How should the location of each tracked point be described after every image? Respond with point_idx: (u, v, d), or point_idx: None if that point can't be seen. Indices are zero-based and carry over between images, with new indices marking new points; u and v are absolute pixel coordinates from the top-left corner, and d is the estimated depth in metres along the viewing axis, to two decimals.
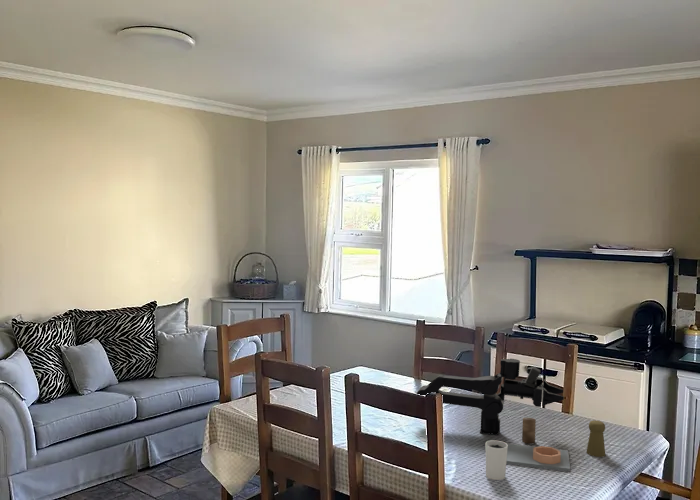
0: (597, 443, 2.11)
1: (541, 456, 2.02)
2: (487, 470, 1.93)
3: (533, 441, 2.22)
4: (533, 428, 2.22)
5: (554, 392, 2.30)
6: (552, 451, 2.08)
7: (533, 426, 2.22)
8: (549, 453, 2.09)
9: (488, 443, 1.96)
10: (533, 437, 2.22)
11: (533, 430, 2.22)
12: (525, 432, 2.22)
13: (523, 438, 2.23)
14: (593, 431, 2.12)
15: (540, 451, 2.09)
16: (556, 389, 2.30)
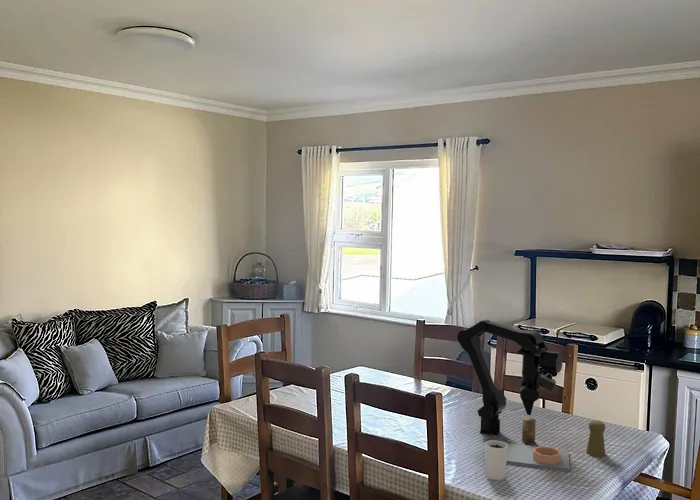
0: (597, 443, 2.11)
1: (541, 456, 2.02)
2: (487, 470, 1.93)
3: (533, 441, 2.22)
4: (533, 428, 2.22)
5: None
6: (552, 451, 2.08)
7: (533, 426, 2.22)
8: (549, 453, 2.09)
9: (488, 443, 1.96)
10: (533, 437, 2.22)
11: (533, 429, 2.22)
12: (525, 432, 2.22)
13: (523, 438, 2.23)
14: (593, 431, 2.12)
15: (540, 451, 2.09)
16: None
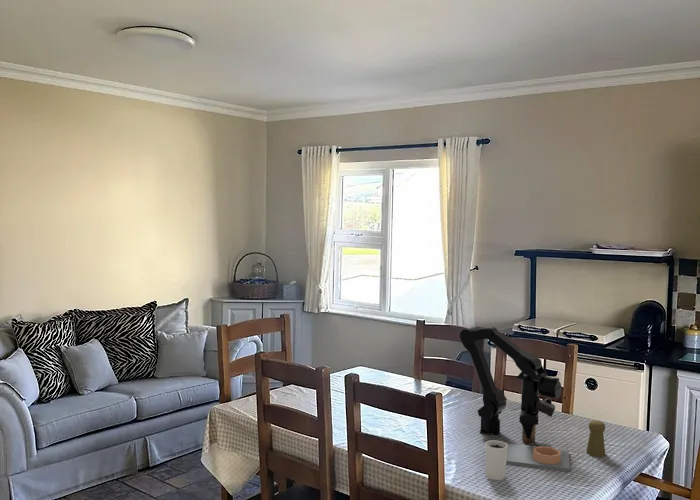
0: (597, 443, 2.11)
1: (541, 456, 2.02)
2: (487, 470, 1.93)
3: (533, 441, 2.22)
4: (533, 428, 2.22)
5: None
6: (552, 451, 2.08)
7: (533, 426, 2.22)
8: (549, 453, 2.09)
9: (488, 443, 1.96)
10: (533, 437, 2.22)
11: (533, 429, 2.22)
12: None
13: (523, 438, 2.23)
14: (593, 431, 2.12)
15: (540, 451, 2.09)
16: None
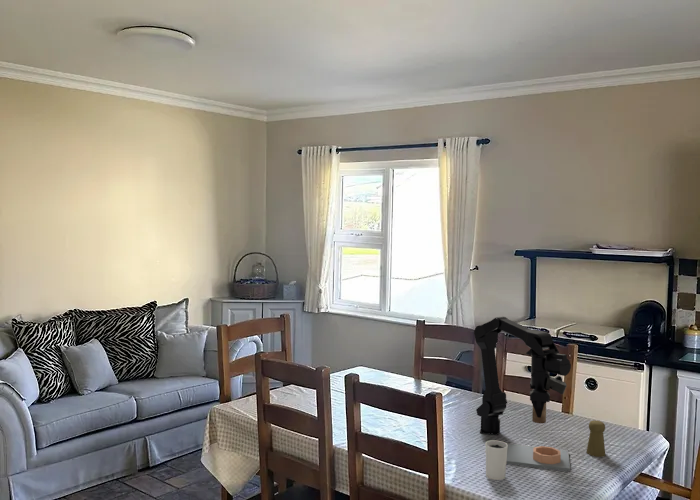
0: (597, 443, 2.11)
1: (541, 456, 2.02)
2: (487, 470, 1.93)
3: (544, 420, 2.12)
4: (544, 407, 2.12)
5: None
6: (552, 451, 2.08)
7: (544, 404, 2.12)
8: (549, 453, 2.09)
9: (488, 443, 1.96)
10: (544, 416, 2.12)
11: (544, 408, 2.12)
12: None
13: (533, 417, 2.13)
14: (593, 431, 2.12)
15: (540, 451, 2.09)
16: None
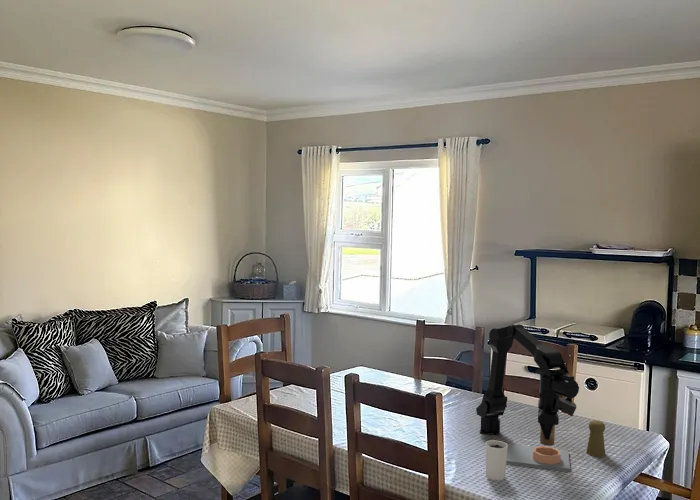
0: (597, 443, 2.11)
1: (541, 456, 2.02)
2: (487, 470, 1.93)
3: (552, 442, 2.04)
4: (552, 428, 2.03)
5: None
6: (552, 451, 2.08)
7: None
8: (549, 453, 2.09)
9: (488, 443, 1.96)
10: (552, 438, 2.04)
11: (553, 430, 2.03)
12: None
13: (541, 439, 2.05)
14: (593, 431, 2.12)
15: (540, 451, 2.09)
16: None
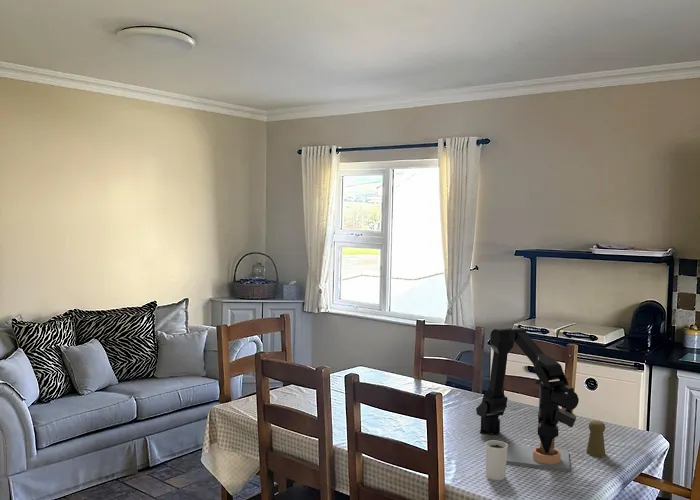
0: (597, 443, 2.11)
1: (541, 456, 2.02)
2: (487, 470, 1.93)
3: None
4: (552, 444, 2.04)
5: None
6: None
7: (552, 441, 2.04)
8: None
9: (488, 443, 1.96)
10: (552, 453, 2.04)
11: (552, 445, 2.04)
12: None
13: None
14: (593, 431, 2.12)
15: None
16: None
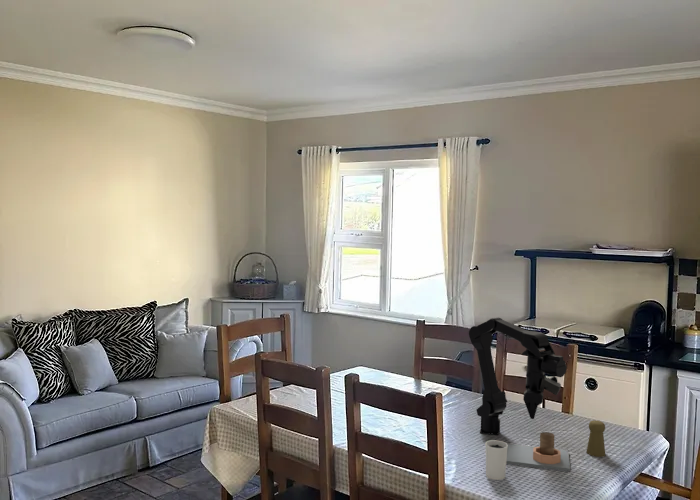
0: (597, 443, 2.11)
1: (541, 456, 2.02)
2: (487, 470, 1.93)
3: None
4: (552, 444, 2.04)
5: None
6: None
7: (552, 442, 2.03)
8: None
9: (488, 443, 1.96)
10: (552, 454, 2.04)
11: (552, 446, 2.04)
12: (544, 449, 2.04)
13: None
14: (593, 431, 2.12)
15: None
16: None
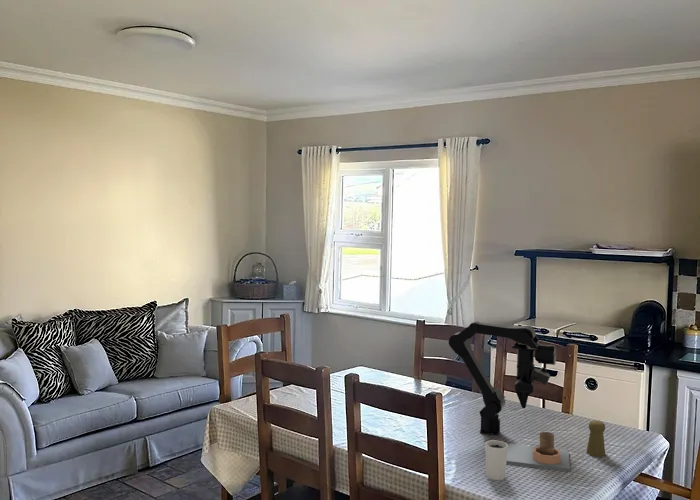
0: (597, 443, 2.11)
1: (541, 456, 2.02)
2: (487, 470, 1.93)
3: None
4: (552, 444, 2.04)
5: None
6: None
7: (551, 442, 2.04)
8: None
9: (488, 443, 1.96)
10: (552, 453, 2.04)
11: (552, 445, 2.04)
12: (543, 449, 2.04)
13: None
14: (593, 431, 2.12)
15: None
16: None
